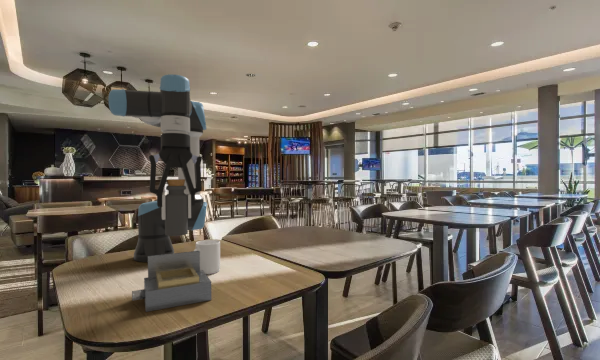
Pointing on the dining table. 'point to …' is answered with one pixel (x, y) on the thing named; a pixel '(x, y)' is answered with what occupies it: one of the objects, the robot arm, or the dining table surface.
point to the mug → (209, 255)
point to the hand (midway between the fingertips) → (176, 218)
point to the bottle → (176, 208)
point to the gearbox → (174, 281)
